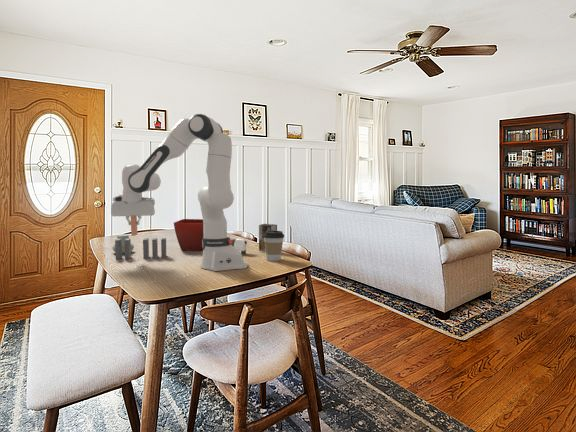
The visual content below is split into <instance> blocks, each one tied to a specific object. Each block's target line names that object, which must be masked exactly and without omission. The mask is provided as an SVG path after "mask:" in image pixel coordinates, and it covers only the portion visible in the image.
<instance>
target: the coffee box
mask: <svg viewBox="0 0 576 432" xmlns="http://www.w3.org/2000/svg"><path fill="white" fill-rule="evenodd" d="M265 231H278V224H272V223H262V224H259V225H258V252H259V251H262V252H261V253H265V252H266V250H265V242H264V237H263V234H265Z"/></svg>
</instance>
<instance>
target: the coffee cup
mask: <svg viewBox="0 0 576 432" xmlns="http://www.w3.org/2000/svg"><path fill="white" fill-rule="evenodd" d="M263 237H264V242H265V250H266V253H265V259H266V261H268V262H279V260H280V261H281V258H282V252H283V251H282V250H283V242H284V238H285V234H284V233H283V231H282V230H277V231H265V234H263Z"/></svg>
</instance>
